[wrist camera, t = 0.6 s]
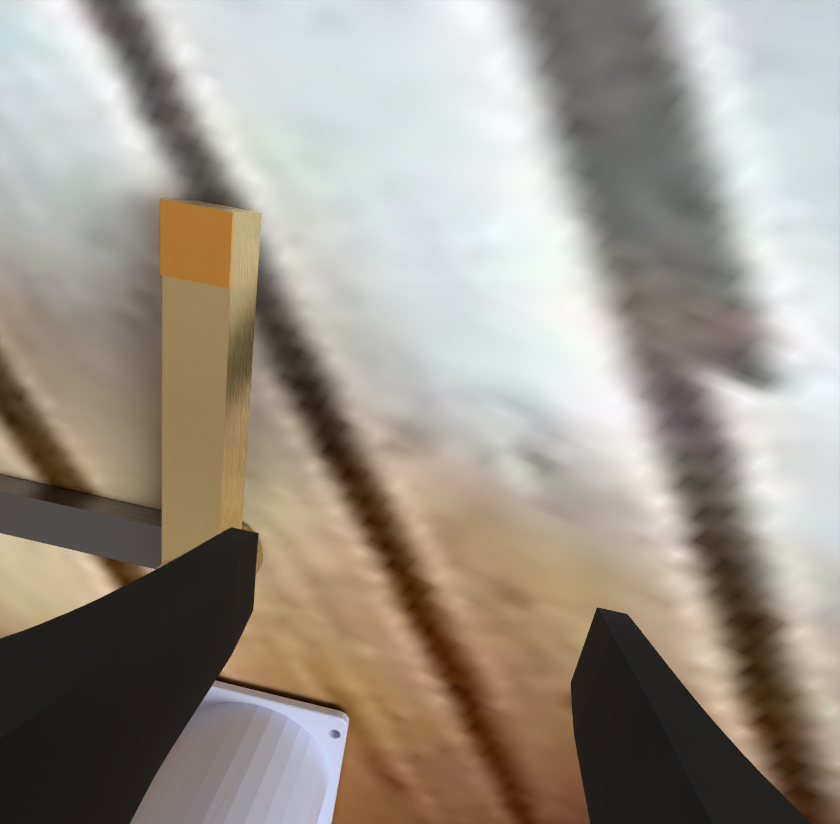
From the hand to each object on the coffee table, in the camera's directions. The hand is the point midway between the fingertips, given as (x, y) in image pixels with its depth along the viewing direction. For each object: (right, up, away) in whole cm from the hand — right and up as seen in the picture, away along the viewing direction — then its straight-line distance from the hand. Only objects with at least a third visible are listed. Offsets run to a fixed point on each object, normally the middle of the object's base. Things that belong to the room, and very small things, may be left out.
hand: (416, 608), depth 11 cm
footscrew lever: (-7, +4, +8) cm, 11 cm away
